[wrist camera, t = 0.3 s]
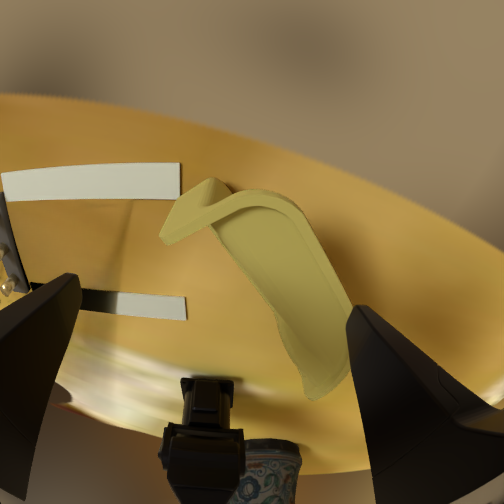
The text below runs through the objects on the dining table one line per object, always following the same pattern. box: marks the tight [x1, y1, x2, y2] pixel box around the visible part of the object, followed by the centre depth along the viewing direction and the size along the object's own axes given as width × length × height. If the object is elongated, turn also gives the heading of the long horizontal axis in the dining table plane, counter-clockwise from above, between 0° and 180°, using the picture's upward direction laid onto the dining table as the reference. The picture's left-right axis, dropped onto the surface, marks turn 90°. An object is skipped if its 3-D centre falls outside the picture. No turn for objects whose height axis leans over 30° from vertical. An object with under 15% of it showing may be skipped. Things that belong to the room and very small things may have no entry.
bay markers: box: [1, 163, 186, 320], centre depth 25 cm, size 16×19×1 cm
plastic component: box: [159, 178, 353, 401], centre depth 22 cm, size 20×7×10 cm, turn 31°
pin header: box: [0, 192, 31, 296], centre depth 23 cm, size 12×2×3 cm, turn 176°
